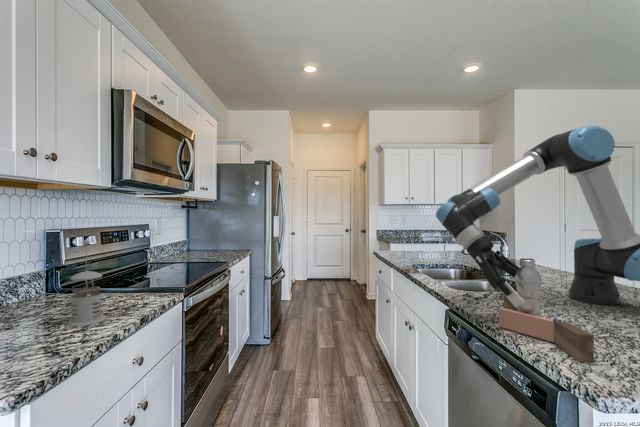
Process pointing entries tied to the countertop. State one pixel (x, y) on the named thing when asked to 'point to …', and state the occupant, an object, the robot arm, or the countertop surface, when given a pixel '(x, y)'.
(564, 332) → the row of wooden blocks
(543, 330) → the gate
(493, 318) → the countertop surface
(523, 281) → the plastic bottle
